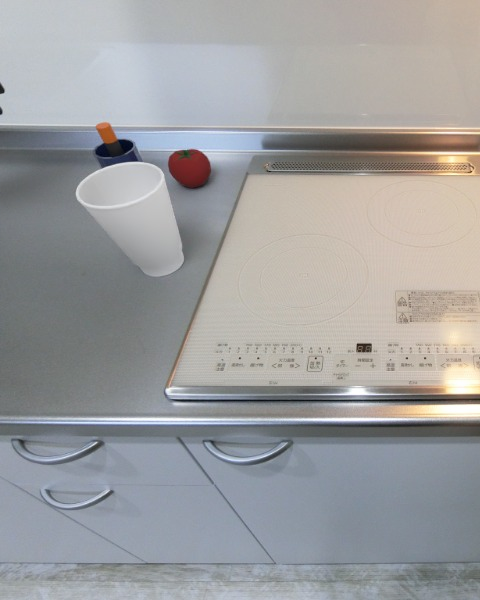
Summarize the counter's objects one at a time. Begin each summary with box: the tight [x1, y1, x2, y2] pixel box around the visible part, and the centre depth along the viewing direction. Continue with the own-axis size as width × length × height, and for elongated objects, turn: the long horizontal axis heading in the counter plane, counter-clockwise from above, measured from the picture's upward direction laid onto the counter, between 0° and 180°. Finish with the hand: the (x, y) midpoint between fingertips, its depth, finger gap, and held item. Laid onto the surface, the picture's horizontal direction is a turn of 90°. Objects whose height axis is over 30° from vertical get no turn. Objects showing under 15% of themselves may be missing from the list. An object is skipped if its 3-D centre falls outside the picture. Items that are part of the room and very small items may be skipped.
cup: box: [75, 161, 185, 278], centre depth 69 cm, size 12×12×16 cm
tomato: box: [167, 148, 212, 189], centre depth 89 cm, size 8×8×7 cm
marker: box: [95, 121, 125, 157], centre depth 86 cm, size 2×2×12 cm
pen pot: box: [92, 138, 146, 169], centre depth 88 cm, size 8×8×8 cm
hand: (0, 95), depth 71 cm, fingers open, 8 cm apart
